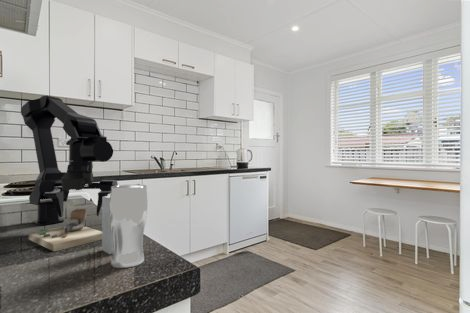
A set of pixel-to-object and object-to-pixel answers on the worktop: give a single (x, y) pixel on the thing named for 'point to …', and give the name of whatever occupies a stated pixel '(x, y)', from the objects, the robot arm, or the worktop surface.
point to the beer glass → (128, 224)
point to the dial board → (64, 237)
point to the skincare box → (106, 227)
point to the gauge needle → (76, 220)
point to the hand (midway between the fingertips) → (79, 216)
